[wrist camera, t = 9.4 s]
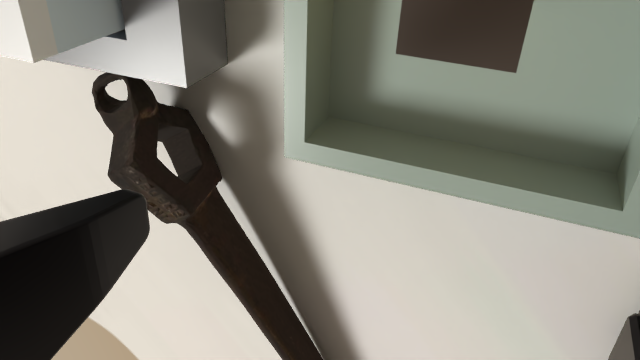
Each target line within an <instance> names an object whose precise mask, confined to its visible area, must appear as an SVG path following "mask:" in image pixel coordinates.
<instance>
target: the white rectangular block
mask: <svg viewBox="0 0 640 360" xmlns="http://www.w3.org/2000/svg"><path fill="white" fill-rule="evenodd" d="M124 29H125V25H124V18H123V12H122V6H121V0H0V56H2V57H7V58H12V59H17V60H22V61H27V62H31V63H35V62H38V61H40V60H43V59H46V58H48V57H51V56H54V55H56V54H59V53H62V52H65V51H67V50H70V49H73V48H75V47H78V46H81V45H83V44H86V43H89V42H91V41H94V40H97V39H99V38H102V37H105V36H108V35H110V34H113V33H116V32H118V31H121V30H124Z"/></svg>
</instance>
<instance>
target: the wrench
mask: <svg viewBox="0 0 640 360" xmlns="http://www.w3.org/2000/svg"><path fill="white" fill-rule="evenodd" d="M119 79H120V80H121V79H123V80H124V81H125V83H126V85H127V90H128V98H127V100H126V101H120V100H117V99H114V98H113V97H111V96H109V95H108V94H107V92H106V90H105V87H106V86H107V84H108V83H110V82H113V81H115V80H119ZM92 94H93V97H94V102H95V107H96V109H97V111H98V112H99V113H100V115H101V117H102V119H103V121H104V123H105V124H106V126H107V127H108V128H109V129H110V130H111V132H112V133H113V135H114V137H113V144H112V151H111V158H110V164H109V170H108V176H109V178H110V180H111V181H112V182H113V183H114V184H116V185H117V186H118V187H120V188H121V189H127V190H131V191H134V192H138V193H141V194H142V195H144V197H145V198H146V201H147V209H148V210H149V211H150V212H151V213H152V214H153V215H155V216H156V217H157V218H158V219H160V220H161V221H162V222H164V223H166V224H168V223H178V224H179V225H181V226H182V227H184V228H185V229H186V230H187V231H188V233H189V234H190V235H191V236H192V238H193V239H194V240H195V241H196V243H197V244H198V245H199V246H200V248H201V249H202V251H203V252H204V254H205V255H206V256H207V258H208V259H209V261H210V262H211V263H212V265H213V266H214V267H215V269H216V270H217V271H218V273H219V274H220V275H221V276H222V278H223V279H224V280H225V282H226V283H227V284H228V286H229V287H230V288H231V289H232V291H233V292H234V293H235V295H236V296H237V297H238V299H239V300H240V301H241V303H242V304H243V305H244V307H245V308H246V310H247V311H248V312H249V314H250V315H251V317H252V318H253V319H254V321H255V322H256V324H257V325H258V327H259V328H260V329H261V331H262V332H263V333H264V335H265V336H266V338H267V339H268V340H269V342H270V343H271V344H272V346H273V347H274V348H275V350H276V351H277V353H278V354H279V355H280V357H281V358H282V360H323V359H322V357H321V355H320V353H319V352H318V350H317V348H316V347H315V345H314V343H313V342H312V340H311V338H310V337H309V335H308V333H307V332H306V330H305V329H304V327H303V325H302V324H301V322H300V320H299V319H298V317H297V316H296V314H295V312H294V311H293V309H292V307H291V306H290V304H289V303H288V301H287V299H286V298H285V296H284V294H283V293H282V291H281V289H280V288H279V286H278V284H277V283H276V281H275V279H274V278H273V276H272V275H271V273H270V272H269V270H268V268H267V267H266V265H265V263H264V262H263V260H262V259H261V257H260V256H259V254H258V252H257V251H256V249H255V248H254V246H253V245H252V243H251V242H250V240H249V239H248V237H247V236H246V234H245V232H244V231H243V229H242V228H241V226H240V224H239V223H238V222H237V220H236V219H235V217H234V215H233V213H232V212H231V210H230V209H229V208H228V206H227V204H226V203H225V201H224V200H223V198H222V196H221V195H220V193H219V192H218V190H217V187H216V185H217V184H218V182H219V181H221V179H222V176H221V173H220V171H219V168H218V166H217V164H216V161H215V159H214V157H213V154H212V152H211V150H210V147H209V144H208V142H207V141H206V139H205V137H204V135H203V134H202V132H201V131H200V129H199V128H198V126H197V124H196V122H195V121H194V119H193V118H192V116H191V114H190V113H189V111H188V110H184V109H181V108H178V107H174V106H167V105H165V104H160V103H158V102H157V100H156V98H155V96H154V94H153V92H152V90H151V89H150V87H149V86H148V85H147V84H146V83H145V82H144V81H143V80H142V79H138V78H133V77H128V76H123V75H118V74H113V73H108V72H106V73H104V74H102V75H100V76H99V77H98V78H97V79H96V80H95V81H94V83H93V88H92ZM157 141H160V142H163V144H164V146H165V148H166V150H167V152H168V154H169V156H170V158H171V160H172V163H173V165H174V168H175V170H176V172H177V174H178V177H177V176H175V175H174V174H173V173H172V172H171V171H170V170H169V169H167V168H166V166H165V165H164V164H163V163H162V162H161V161H160V160H159V159H158V158H157Z"/></svg>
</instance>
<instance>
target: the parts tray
mask: <svg viewBox="0 0 640 360" xmlns="http://www.w3.org/2000/svg"><path fill="white" fill-rule="evenodd" d="M401 4H402V0H284V157H286V158H290V159H294V160H299V161H303V162H307V163H312V164H316V165H320V166H325V167H329V168H334V169H338V170H342V171H347V172H351V173H355V174H360V175H364V176H369V177H373V178H377V179H382V180H386V181H390V182H395V183H399V184H403V185H408V186H412V187H417V188H421V189H425V190H430V191H434V192H438V193H443V194H447V195H451V196H456V197H460V198H465V199H469V200H473V201H478V202H482V203H486V204H491V205H495V206H500V207H504V208H508V209H513V210H517V211H521V212H526V213H530V214H534V215H539V216H543V217H548V218H552V219H556V220H561V221H565V222H569V223H574V224H578V225H582V226H587V227H591V228H596V229H600V230H604V231H609V232H613V233H617V234H622V235H626V236H631V237H635V238H639V239H640V0H534V2H533V6H532V11H531V15H530V19H529V23H528V27H527V31H526V35H525V39H524V43H523V47H522V51H521V55H520V59H519V64H518V68H517V72H516V73H512V72H505V71H499V70H493V69H487V68H480V67H474V66H468V65H462V64H455V63H449V62H443V61H437V60H430V59H424V58H418V57H412V56H405V55H399V54H396V46H397V38H398V29H399V21H400V12H401Z"/></svg>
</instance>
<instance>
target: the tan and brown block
mask: <svg viewBox="0 0 640 360" xmlns="http://www.w3.org/2000/svg"><path fill="white" fill-rule="evenodd" d="M533 2H534V0H402V4H401V12H400V21H399V29H398V38H397V46H396V54H399V55H405V56H412V57H418V58H424V59H430V60H437V61H443V62H449V63H455V64H462V65H468V66H474V67H480V68H487V69H493V70H499V71H505V72H512V73H516V72H517V68H518V64H519V59H520V55H521V51H522V47H523V43H524V39H525V35H526V31H527V27H528V23H529V19H530V15H531V11H532V6H533Z"/></svg>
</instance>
